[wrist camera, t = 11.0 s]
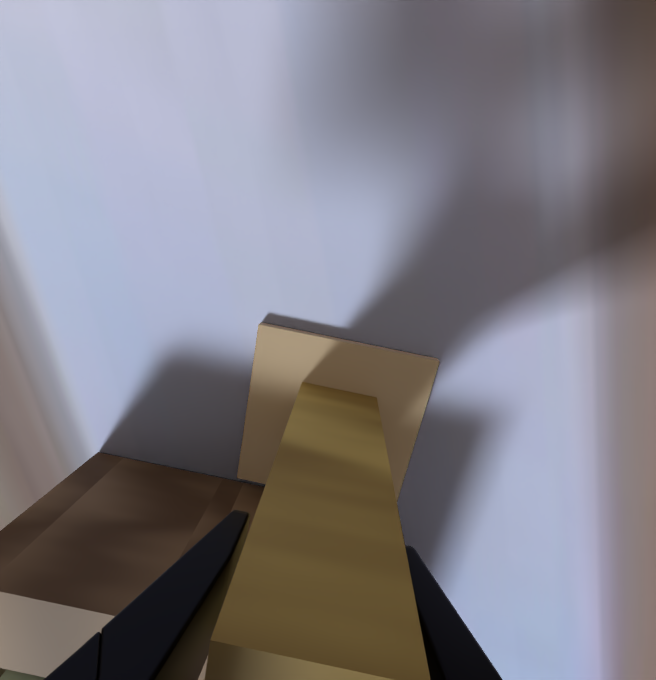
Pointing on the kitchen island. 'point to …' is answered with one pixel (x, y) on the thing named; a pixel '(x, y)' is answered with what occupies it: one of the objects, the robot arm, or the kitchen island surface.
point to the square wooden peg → (323, 559)
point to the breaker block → (100, 551)
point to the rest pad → (334, 372)
